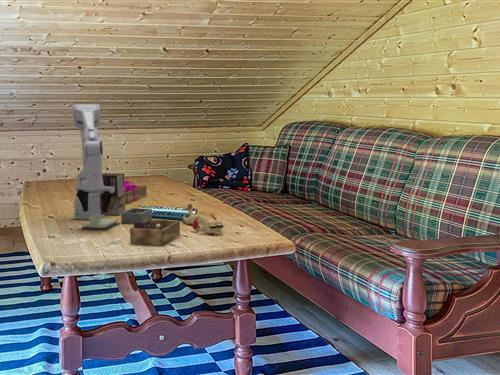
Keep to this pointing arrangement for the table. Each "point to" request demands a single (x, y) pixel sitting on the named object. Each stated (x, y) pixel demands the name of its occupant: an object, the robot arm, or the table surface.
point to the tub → (136, 215)
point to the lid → (98, 222)
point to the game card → (141, 225)
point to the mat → (103, 228)
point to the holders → (151, 235)
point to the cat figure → (203, 222)
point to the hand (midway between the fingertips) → (95, 211)
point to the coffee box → (118, 196)
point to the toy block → (129, 187)
